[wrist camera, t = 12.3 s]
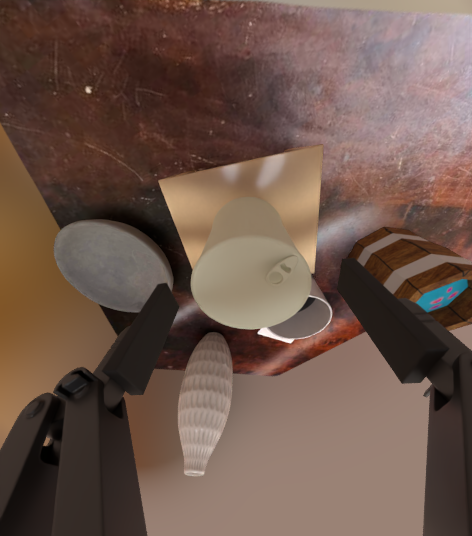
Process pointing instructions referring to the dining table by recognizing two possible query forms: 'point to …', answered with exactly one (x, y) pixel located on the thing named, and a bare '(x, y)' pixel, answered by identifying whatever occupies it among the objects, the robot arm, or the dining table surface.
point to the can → (250, 268)
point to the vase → (204, 401)
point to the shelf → (250, 185)
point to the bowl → (111, 263)
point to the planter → (306, 317)
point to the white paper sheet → (267, 333)
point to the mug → (420, 273)
